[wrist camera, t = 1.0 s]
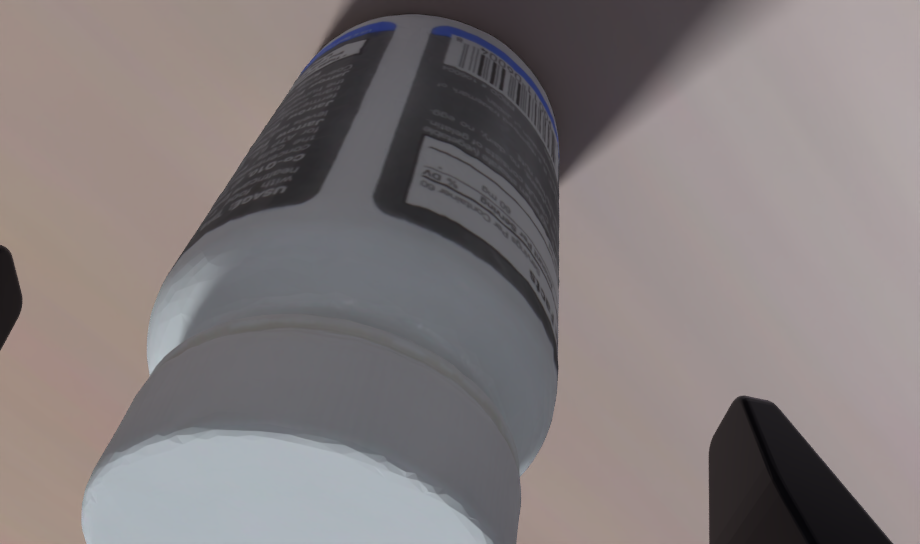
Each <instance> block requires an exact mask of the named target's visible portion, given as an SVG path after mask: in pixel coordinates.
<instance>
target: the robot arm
mask: <svg viewBox="0 0 920 544" xmlns="http://www.w3.org/2000/svg"><path fill="white" fill-rule="evenodd" d="M21 308H22V293H21V289H20V285H19V281H18V277H17V274H16V270H15V266H14V262H13V258H12V255H11V252H10V251H9V250H8V249H7V248H6V247H4V246H2V245H0V350H1V348H2V347H3V345H4V343H5V341H6V339H7V337H8V335H9V334H10V332H11V330H12V328H13V326H14V324H15V323H16V321H17V319H18V317H19V314H20V312H21ZM709 544H893V543H892V542H891V541H890V539H889V538H888V537H887V536H886V535H885V534H884V532H883V531H882V530H881V529H880V528H879V526H878V525H877V524H876V523H875V522H874V521H873V519H872V518H871V517H870V516H869V515H868V513H867V512H866V511H865V510H864V509H863V507H862V506H861V505H860V504H859V503H858V502H857V500H856V499H855V498H854V497H853V496H852V494H851V493H850V492H849V491H848V490H847V489H846V487H845V486H844V485H843V484H842V483H841V481H840V480H839V479H838V478H837V477H836V475H835V474H834V473H833V472H832V471H831V470H830V468H829V467H828V466H827V465H826V464H825V462H824V461H823V460H822V459H821V458H820V457H819V455H818V454H817V453H816V452H815V451H814V449H813V448H812V447H811V446H810V445H809V443H808V442H807V441H806V440H805V439H804V438H803V436H802V435H801V434H800V433H799V432H798V430H797V429H796V428H795V427H794V426H793V424H792V423H791V422H790V421H789V420H788V419H787V417H786V416H785V415H784V414H783V413H782V411H781V410H780V409H779V408H778V407H777V406H776V405H775V404H774V403H772V402H770V401H768V400H763V399H758V398H753V397H749V396H739V397H737V398H736V399H735V400H734V401H733V403H732V404H731V406H730V408H729V409H728V411H727V413H726V415H725V416H724V418H723V420H722V422H721V423H720V425H719V427H718V429H717V430H716V432H715V434H714V436H713V438H712V441H711V444H710V449H709Z"/></svg>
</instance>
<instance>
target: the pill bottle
mask: <svg viewBox="0 0 920 544" xmlns="http://www.w3.org/2000/svg"><path fill="white" fill-rule="evenodd" d="M558 289H559V140H558V131H557V126H556V121H555V117H554V114H553V111H552V108H551V105H550V102H549V100H548V98H547V95H546V93H545V91H544V89H543V88H542V86H541V84H540V83H539V81H538V79H537V78H536V77H535V75H534V74H533V73H532V71H531V70H530V69H529V68H528V67H527V65H526V64H525V63H524V62H523V61H522V60H521V59H520V58H519V57H518V56H517V55H516V54H515V53H514V52H513V51H512V50H511V49H510V48H508V47H507V46H506V45H505V44H504V43H502V42H501V41H499V40H498V39H496V38H495V37H493V36H491V35H489V34H488V33H485V32H483V31H481V30H479V29H476V28H474V27H472V26H469V25H467V24H464V23H461V22H458V21H455V20H451V19H446V18H442V17H437V16H428V15H420V14H407V15H396V16H385V17H380V18H376V19H373V20H369V21H367V22H364V23H361V24H359V25H357V26H354V27H352V28H350V29H349V30H347V31H345V32H344V33H342V34H341V35H339V36H338V37H336V38H334V39H333V40H332V41H330V42H329V43H328V44H327V45H326V46H324V47H323V48H322V49H321V50H320V52H319V53H318V54H317V55H316V56H315V57H314V58H313V59H312V60H311V61H310V63H309V64H308V65H307V66H306V67H305V68H304V70H303V71H302V72H301V74H300V75H299V77H298V79H297V80H296V81H295V82H294V84H293V86H292V88H291V89H290V91H289V93H288V94H287V95H286V97H285V98H284V100H283V101H282V103H281V105H280V106H279V107H278V109H277V110H276V112H275V114H274V115H273V116H272V118H271V119H270V121H269V122H268V124H267V125H266V126H265V128H264V129H263V131H262V132H261V134H260V135H259V137H258V138H257V140H256V141H255V143H254V144H253V145H252V147H251V148H250V150H249V152H248V154H247V155H246V157H245V158H244V160H243V161H242V163H241V164H240V166H239V167H238V169H237V171H236V172H235V174H234V175H233V177H232V178H231V180H230V181H229V183H228V184H227V186H226V187H225V189H224V191H223V192H222V193H221V194H220V196H219V197H218V199H217V200H216V202H215V204H214V205H213V207H212V208H211V210H210V212H209V213H208V215H207V216H206V218H205V219H204V221H203V222H202V224H201V225H200V227H199V228H198V230H197V232H196V233H195V235H194V236H193V238H192V239H191V240H190V242H189V243H188V245H187V246H186V248H185V249H184V251H183V252H182V254H181V255H180V257H179V259H178V260H177V262H176V263H175V265H174V266H173V268H172V269H171V271H170V272H169V274H168V276H167V277H166V279H165V281H164V282H163V285H162V287H161V289H160V291H159V294H158V296H157V299H156V301H155V304H154V307H153V310H152V313H151V317H150V322H149V328H148V336H147V360H148V368H149V373H150V377H149V379H148V380H147V381H146V383H145V384H144V385H143V387H142V388H141V389H140V391H139V392H138V393H137V395H136V396H135V398H134V400H133V402H132V404H131V405H130V407H129V409H128V411H127V413H126V415H125V416H124V418H123V420H122V422H121V424H120V425H119V427H118V429H117V431H116V432H115V434H114V436H113V438H112V439H111V441H110V443H109V444H108V446H107V448H106V449H105V451H104V453H103V455H102V456H101V458H100V460H99V461H98V463H97V465H96V466H95V468H94V470H93V473H92V475H91V477H90V479H89V481H88V484H87V486H86V489H85V494H84V498H83V502H82V530H83V533H84V537H85V540H86V543H87V544H516V540H517V529H518V521H519V514H520V507H521V486H520V476H521V475H522V474H523V473H524V472H525V471H526V469H527V468H528V467H529V466H530V464H531V463H532V462H533V460H534V458H535V457H536V455H537V453H538V452H539V450H540V448H541V447H542V444H543V442H544V440H545V438H546V436H547V433H548V430H549V427H550V424H551V422H552V417H553V411H554V406H555V401H556V394H557V381H558V304H559V291H558Z"/></svg>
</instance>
